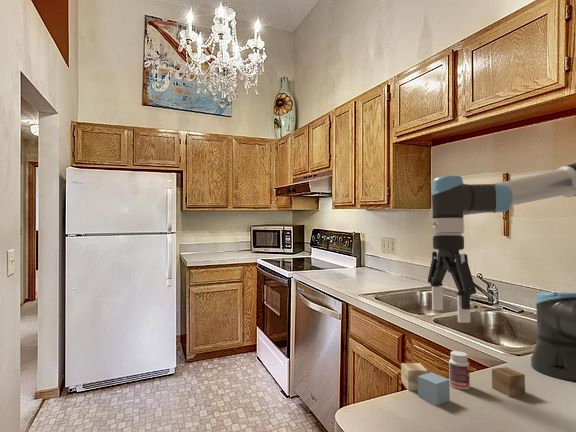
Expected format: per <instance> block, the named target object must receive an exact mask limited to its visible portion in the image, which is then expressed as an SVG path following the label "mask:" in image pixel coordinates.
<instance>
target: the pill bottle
mask: <svg viewBox="0 0 576 432" xmlns="http://www.w3.org/2000/svg"><path fill="white" fill-rule="evenodd" d="M468 356H469V355H468V354H467V353H466V352H463V351H458V350H452V351H450V359H449V361H448V367H449V369H448V373H449V374H448V375H449V376H448V377H449V378H448V379H449V384H450V386H451V387H452V388H455V389H458V390H462V391H463V390H469V389H470V384H471V383H470V380H471V379H470V374H471V373H470V362H469V361H468V360H469V359H468V358H469V357H468Z"/></svg>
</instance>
